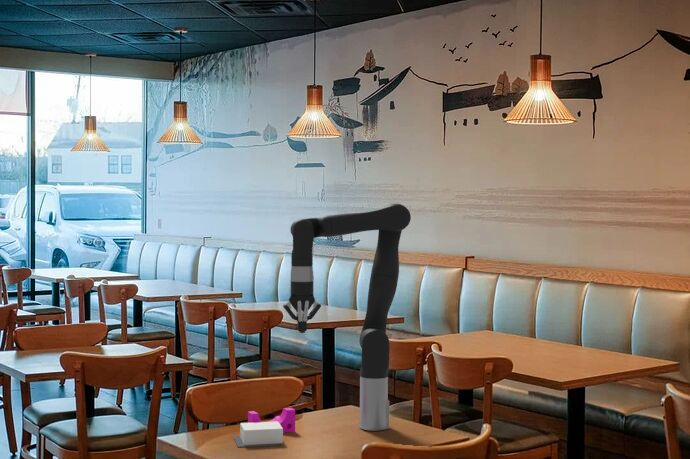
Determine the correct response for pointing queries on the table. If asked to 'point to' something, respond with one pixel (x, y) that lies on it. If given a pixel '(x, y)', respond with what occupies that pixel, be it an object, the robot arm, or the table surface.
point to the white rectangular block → (261, 433)
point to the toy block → (278, 419)
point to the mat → (240, 444)
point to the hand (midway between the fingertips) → (301, 332)
